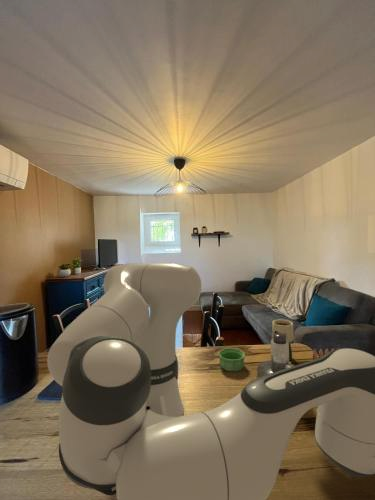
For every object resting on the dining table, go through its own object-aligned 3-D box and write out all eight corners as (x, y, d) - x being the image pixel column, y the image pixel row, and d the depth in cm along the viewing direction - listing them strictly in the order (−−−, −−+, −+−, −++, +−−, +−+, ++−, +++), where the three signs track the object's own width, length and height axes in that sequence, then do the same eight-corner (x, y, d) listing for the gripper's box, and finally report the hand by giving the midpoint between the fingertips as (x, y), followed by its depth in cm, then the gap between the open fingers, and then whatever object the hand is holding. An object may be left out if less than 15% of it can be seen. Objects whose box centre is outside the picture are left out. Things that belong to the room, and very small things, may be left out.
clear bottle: (277, 377, 73) (276, 339, 72) (267, 368, 78) (267, 333, 77) (292, 374, 74) (292, 337, 73) (282, 365, 79) (282, 331, 78)
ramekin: (244, 374, 83) (243, 361, 83) (216, 371, 86) (216, 358, 86) (245, 360, 92) (245, 349, 92) (220, 358, 94) (220, 346, 94)
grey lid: (272, 403, 69) (272, 385, 68) (249, 377, 81) (249, 361, 81) (314, 395, 72) (314, 377, 71) (286, 371, 84) (286, 356, 84)
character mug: (268, 350, 99) (267, 317, 98) (286, 350, 99) (286, 317, 98) (279, 365, 88) (278, 328, 87) (299, 364, 88) (299, 327, 87)
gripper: (306, 423, 50) (267, 383, 63) (389, 404, 54) (337, 370, 68) (306, 391, 49) (267, 358, 63) (389, 375, 54) (337, 347, 68)
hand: (304, 364), depth 65 cm, fingers open, 8 cm apart
